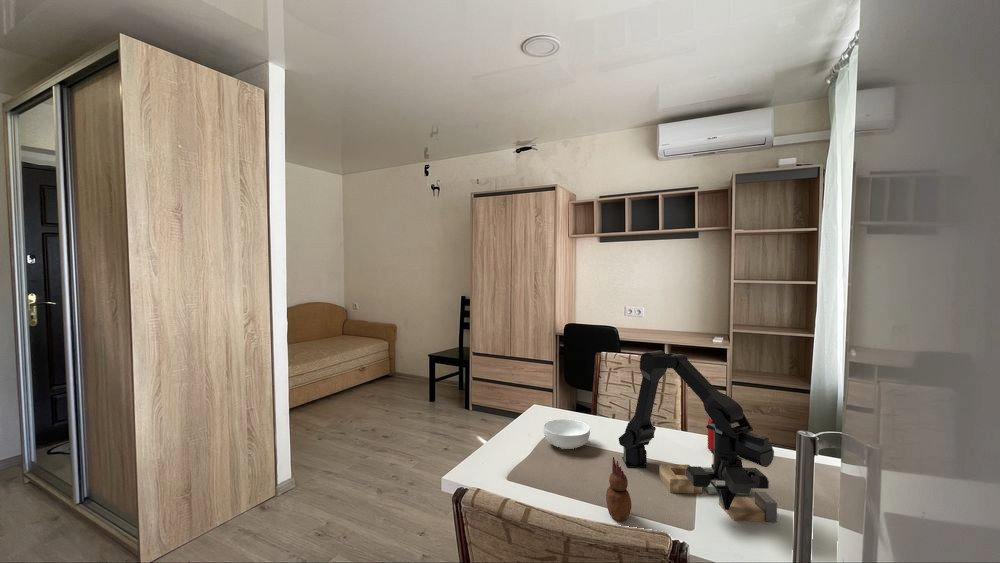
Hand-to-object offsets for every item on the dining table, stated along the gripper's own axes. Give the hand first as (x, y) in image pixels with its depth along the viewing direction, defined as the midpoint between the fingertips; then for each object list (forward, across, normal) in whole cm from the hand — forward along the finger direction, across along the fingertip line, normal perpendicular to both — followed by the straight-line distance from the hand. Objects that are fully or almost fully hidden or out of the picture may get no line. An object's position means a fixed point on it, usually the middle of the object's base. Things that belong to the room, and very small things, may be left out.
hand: (725, 509), depth 105 cm
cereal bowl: (+2, -37, +40) cm, 55 cm away
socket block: (+2, -6, +14) cm, 16 cm away
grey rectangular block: (+2, +10, 0) cm, 10 cm away
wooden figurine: (+2, -28, -2) cm, 28 cm away
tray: (+2, +6, +16) cm, 17 cm away
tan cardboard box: (+2, +5, +1) cm, 5 cm away
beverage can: (+2, +16, +38) cm, 41 cm away
